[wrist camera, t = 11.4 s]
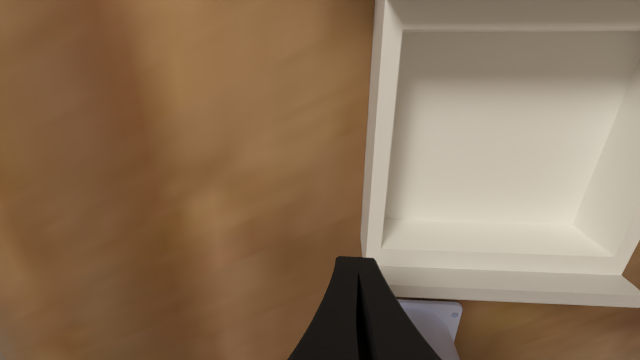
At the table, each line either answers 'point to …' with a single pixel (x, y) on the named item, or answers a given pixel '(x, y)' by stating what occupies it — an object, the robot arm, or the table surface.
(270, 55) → the table surface
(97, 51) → the table surface
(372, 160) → the box
